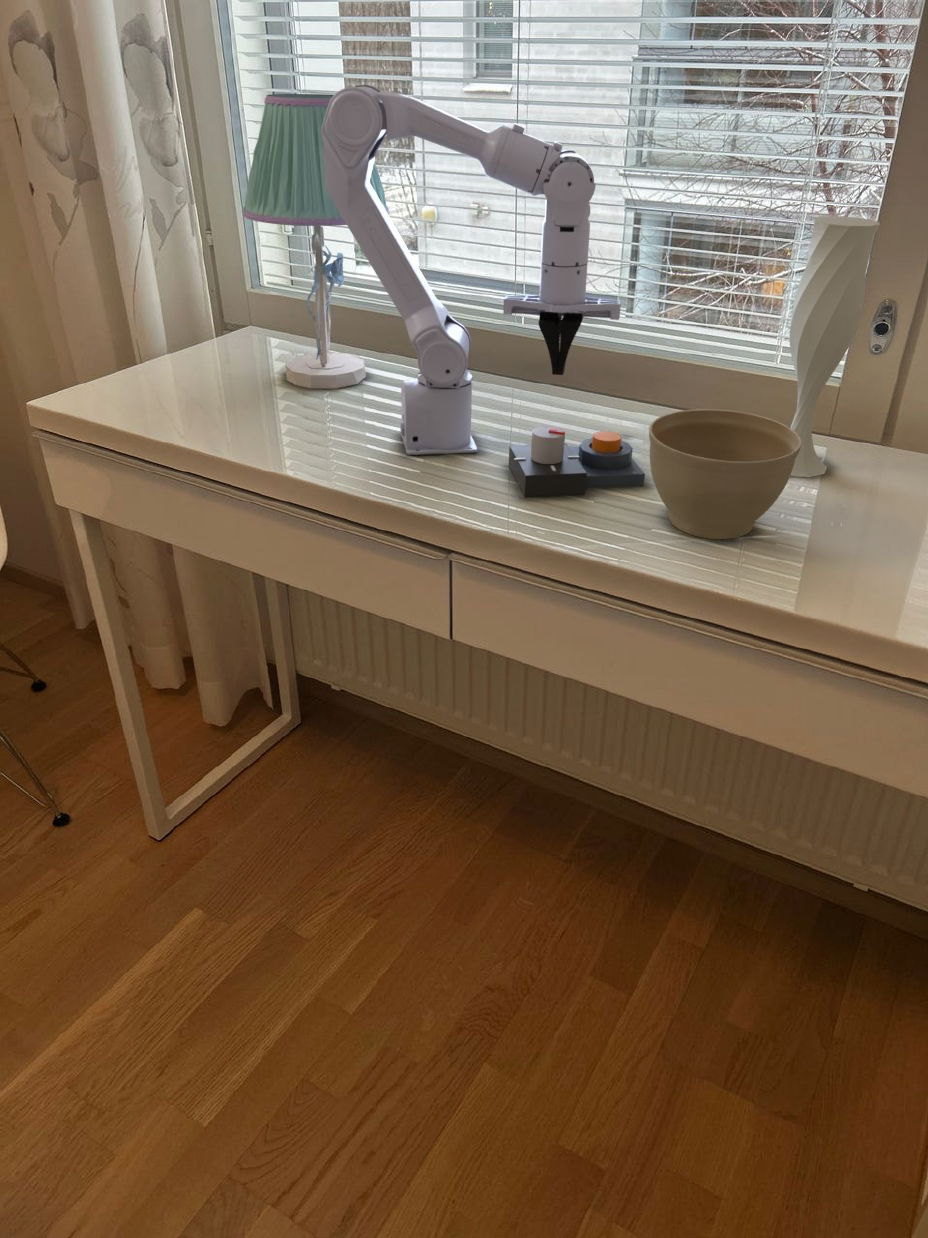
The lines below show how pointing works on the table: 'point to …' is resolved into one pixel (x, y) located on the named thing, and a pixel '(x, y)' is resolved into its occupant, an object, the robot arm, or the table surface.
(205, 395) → the table surface
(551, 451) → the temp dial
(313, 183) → the table lamp
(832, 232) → the vase
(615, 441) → the button
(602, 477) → the button base
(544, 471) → the dial panel
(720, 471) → the planter bowl
